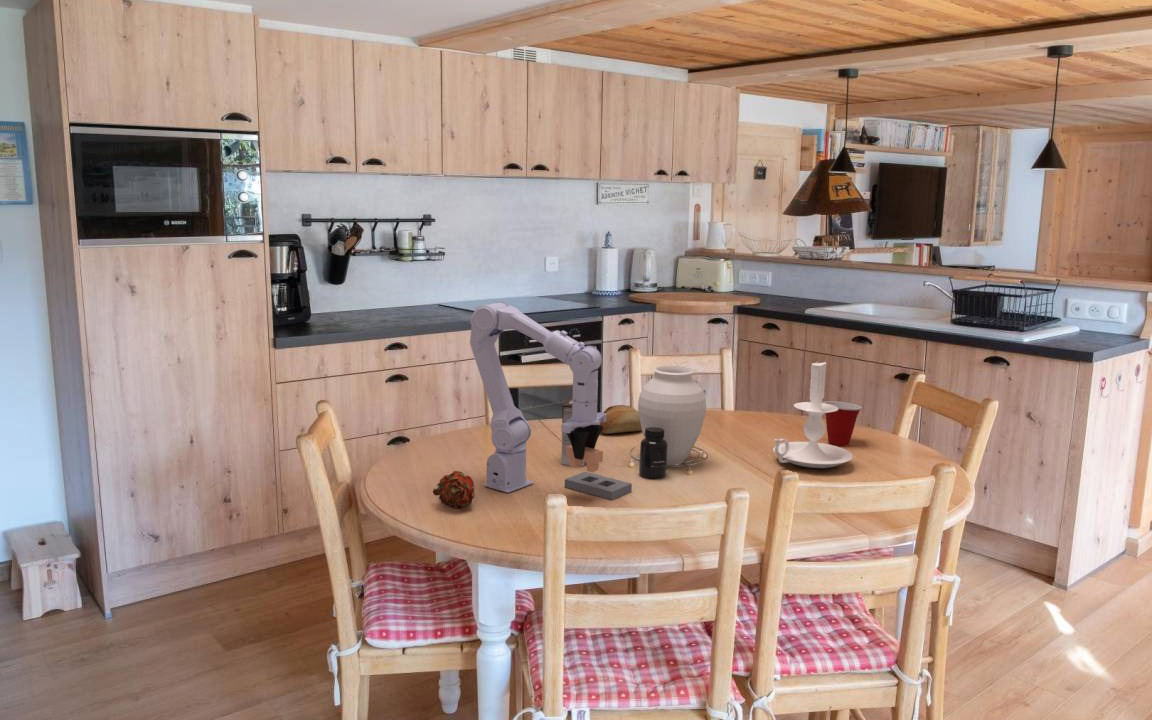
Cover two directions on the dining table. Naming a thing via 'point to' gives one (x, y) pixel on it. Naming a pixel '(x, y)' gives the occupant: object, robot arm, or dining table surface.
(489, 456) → the robot arm
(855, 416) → the plastic cup
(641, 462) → the supplement bottle
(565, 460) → the coffee box
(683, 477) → the dining table surface
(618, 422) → the bread roll
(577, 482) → the gray rectangular slab
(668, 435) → the vase
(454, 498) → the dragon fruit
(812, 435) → the candlestick
